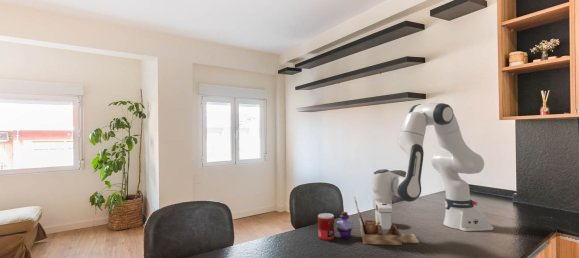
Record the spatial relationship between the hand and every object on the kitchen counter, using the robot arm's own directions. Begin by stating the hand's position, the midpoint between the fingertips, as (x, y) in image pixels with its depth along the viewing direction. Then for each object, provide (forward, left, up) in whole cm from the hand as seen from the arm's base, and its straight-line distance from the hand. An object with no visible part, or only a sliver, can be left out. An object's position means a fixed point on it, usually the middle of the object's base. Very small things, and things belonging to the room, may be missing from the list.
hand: (383, 232), depth 138 cm
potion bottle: (+18, 0, -3) cm, 18 cm away
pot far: (+6, -4, -2) cm, 7 cm away
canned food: (+27, +2, -3) cm, 27 cm away
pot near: (0, 0, -2) cm, 2 cm away
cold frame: (+3, 0, -3) cm, 4 cm away
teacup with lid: (-3, -22, -3) cm, 23 cm away
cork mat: (-11, 0, -3) cm, 12 cm away
